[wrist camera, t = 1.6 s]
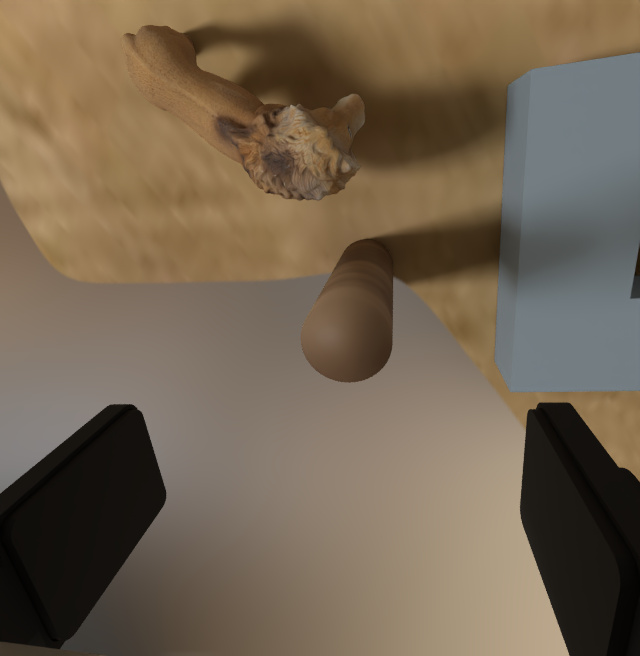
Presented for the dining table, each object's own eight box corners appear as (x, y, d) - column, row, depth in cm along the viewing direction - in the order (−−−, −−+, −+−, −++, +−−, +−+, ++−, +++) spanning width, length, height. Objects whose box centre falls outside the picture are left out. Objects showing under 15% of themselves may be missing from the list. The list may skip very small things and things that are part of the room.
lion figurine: (386, 121, 23) (382, 98, 14) (348, 211, 25) (327, 235, 17) (147, 15, 23) (8, -69, 14) (130, 114, 25) (1, 91, 17)
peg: (337, 241, 26) (294, 300, 15) (391, 237, 25) (390, 295, 14) (342, 293, 27) (306, 383, 16) (394, 289, 26) (394, 381, 15)
